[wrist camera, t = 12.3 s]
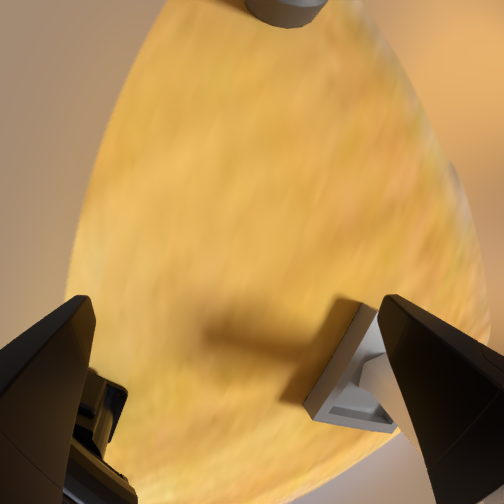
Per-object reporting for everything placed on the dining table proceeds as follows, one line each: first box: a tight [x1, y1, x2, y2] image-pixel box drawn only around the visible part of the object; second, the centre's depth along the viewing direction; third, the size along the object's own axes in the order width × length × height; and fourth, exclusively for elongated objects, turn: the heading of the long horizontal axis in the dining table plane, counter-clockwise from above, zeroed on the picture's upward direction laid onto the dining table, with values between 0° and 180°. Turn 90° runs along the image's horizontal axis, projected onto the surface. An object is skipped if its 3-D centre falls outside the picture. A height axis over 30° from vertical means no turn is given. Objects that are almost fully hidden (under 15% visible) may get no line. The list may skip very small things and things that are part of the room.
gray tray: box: [303, 303, 397, 433], centre depth 25 cm, size 10×10×2 cm
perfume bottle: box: [359, 353, 423, 457], centre depth 18 cm, size 5×4×15 cm
